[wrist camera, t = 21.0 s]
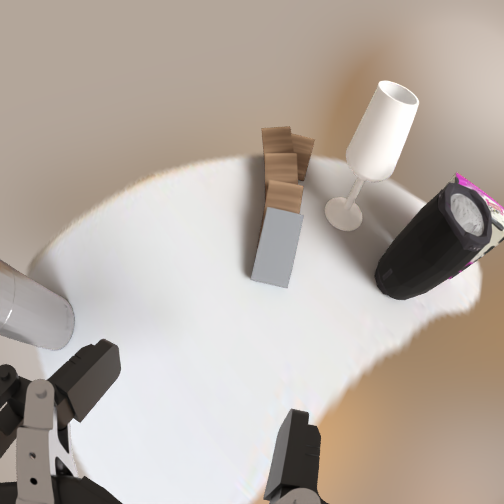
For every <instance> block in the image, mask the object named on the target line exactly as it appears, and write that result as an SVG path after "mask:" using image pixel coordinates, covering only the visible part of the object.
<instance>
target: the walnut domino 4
mask: <svg viewBox="0 0 504 504" xmlns="http://www.w3.org/2000/svg"><path fill="white" fill-rule="evenodd" d="M291 136H292V143H293V150H294V153H297V171H298V180H301V181H304V178H305V174H306V171H307V167H308V163H309V160H310V156H311V153H312V149H313V145H314V141H315V140H314V139H311V138H307V137H303V136H299V135H296V134H292V133H291Z"/></svg>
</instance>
